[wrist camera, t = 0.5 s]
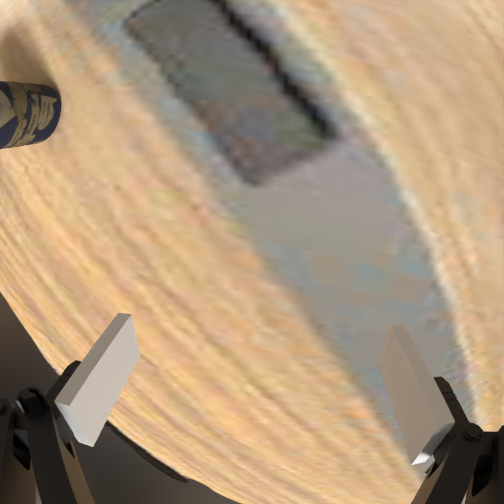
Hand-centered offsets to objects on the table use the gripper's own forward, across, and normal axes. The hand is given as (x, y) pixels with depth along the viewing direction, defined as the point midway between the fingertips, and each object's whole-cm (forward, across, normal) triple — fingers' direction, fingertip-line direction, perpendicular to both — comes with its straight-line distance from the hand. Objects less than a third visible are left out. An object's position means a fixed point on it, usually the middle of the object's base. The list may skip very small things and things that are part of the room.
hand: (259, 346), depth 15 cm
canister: (+28, -35, +16) cm, 48 cm away
